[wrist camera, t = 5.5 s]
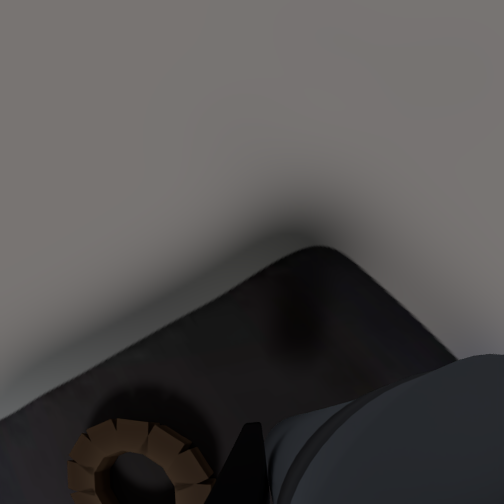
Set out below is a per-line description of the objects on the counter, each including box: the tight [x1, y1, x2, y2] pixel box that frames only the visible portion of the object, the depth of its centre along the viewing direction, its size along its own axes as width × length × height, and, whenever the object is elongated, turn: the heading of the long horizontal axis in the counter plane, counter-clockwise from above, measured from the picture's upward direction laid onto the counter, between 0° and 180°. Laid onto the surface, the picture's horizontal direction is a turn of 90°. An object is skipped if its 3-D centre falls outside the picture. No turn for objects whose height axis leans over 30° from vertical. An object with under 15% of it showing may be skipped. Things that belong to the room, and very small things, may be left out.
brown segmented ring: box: [67, 418, 216, 504], centre depth 15 cm, size 10×10×2 cm
